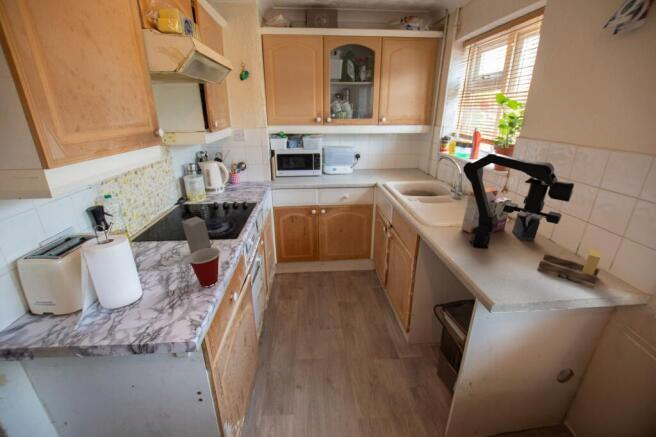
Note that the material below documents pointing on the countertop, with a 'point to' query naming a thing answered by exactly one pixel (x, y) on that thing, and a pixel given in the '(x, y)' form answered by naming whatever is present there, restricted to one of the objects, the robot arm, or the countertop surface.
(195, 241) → the skincare box
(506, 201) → the candy bar box
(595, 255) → the block
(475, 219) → the cracker box
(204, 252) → the plastic cup
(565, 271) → the board
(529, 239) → the small box
